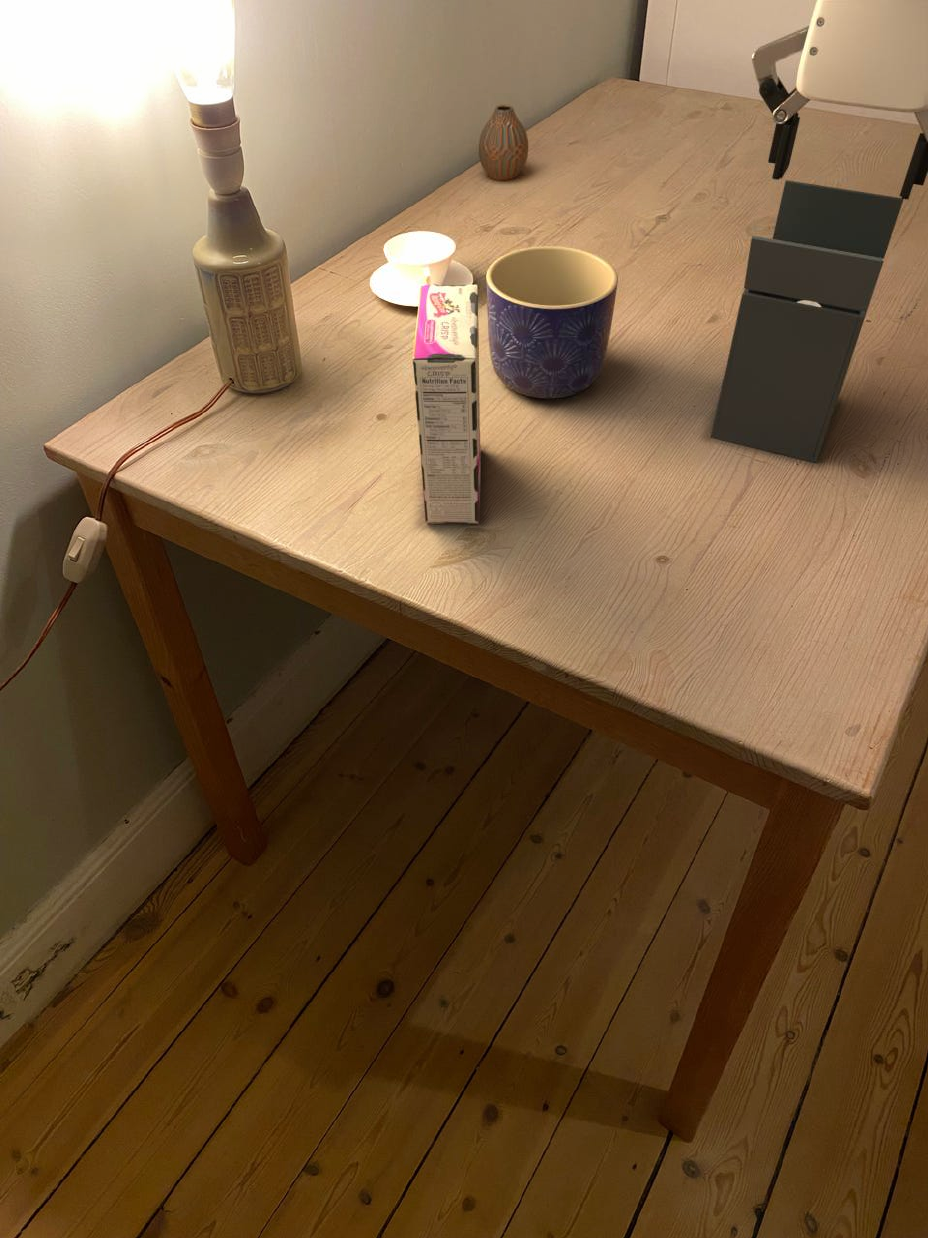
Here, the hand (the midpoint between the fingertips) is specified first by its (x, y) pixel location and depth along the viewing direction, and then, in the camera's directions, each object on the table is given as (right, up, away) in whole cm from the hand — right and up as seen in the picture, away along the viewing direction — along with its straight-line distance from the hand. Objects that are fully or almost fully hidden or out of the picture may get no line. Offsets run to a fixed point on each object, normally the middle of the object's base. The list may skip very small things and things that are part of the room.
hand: (841, 182), depth 72 cm
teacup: (-35, +4, +35) cm, 49 cm away
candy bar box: (-31, -23, +10) cm, 39 cm away
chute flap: (-3, -7, 0) cm, 8 cm away
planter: (-21, -10, +22) cm, 32 cm away
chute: (0, -15, +16) cm, 22 cm away
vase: (-24, +29, +58) cm, 69 cm away
